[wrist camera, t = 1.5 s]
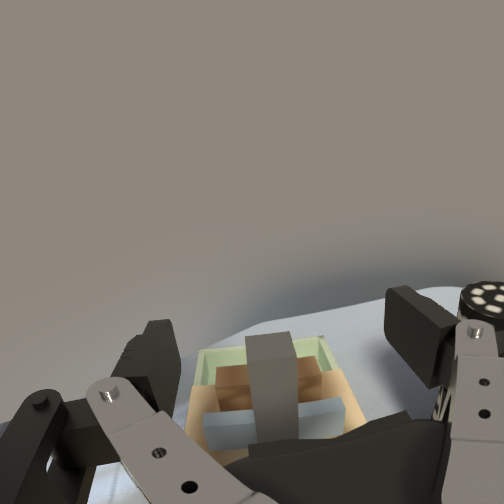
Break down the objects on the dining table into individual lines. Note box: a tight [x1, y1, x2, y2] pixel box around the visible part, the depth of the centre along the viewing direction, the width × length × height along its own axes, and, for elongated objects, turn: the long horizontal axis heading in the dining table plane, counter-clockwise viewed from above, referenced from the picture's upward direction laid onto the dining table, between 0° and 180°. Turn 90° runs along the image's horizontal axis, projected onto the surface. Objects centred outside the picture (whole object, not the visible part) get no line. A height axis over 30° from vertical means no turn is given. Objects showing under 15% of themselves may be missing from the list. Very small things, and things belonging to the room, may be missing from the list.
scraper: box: [202, 331, 346, 451], centre depth 26 cm, size 14×6×14 cm, turn 93°
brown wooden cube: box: [297, 355, 322, 404], centre depth 36 cm, size 4×4×4 cm
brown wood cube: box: [215, 364, 253, 412], centre depth 36 cm, size 4×4×4 cm
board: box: [185, 369, 367, 467], centre depth 33 cm, size 20×16×5 cm
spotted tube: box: [431, 281, 504, 420], centre depth 25 cm, size 8×8×20 cm
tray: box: [193, 336, 339, 386], centre depth 46 cm, size 20×10×4 cm, turn 93°
